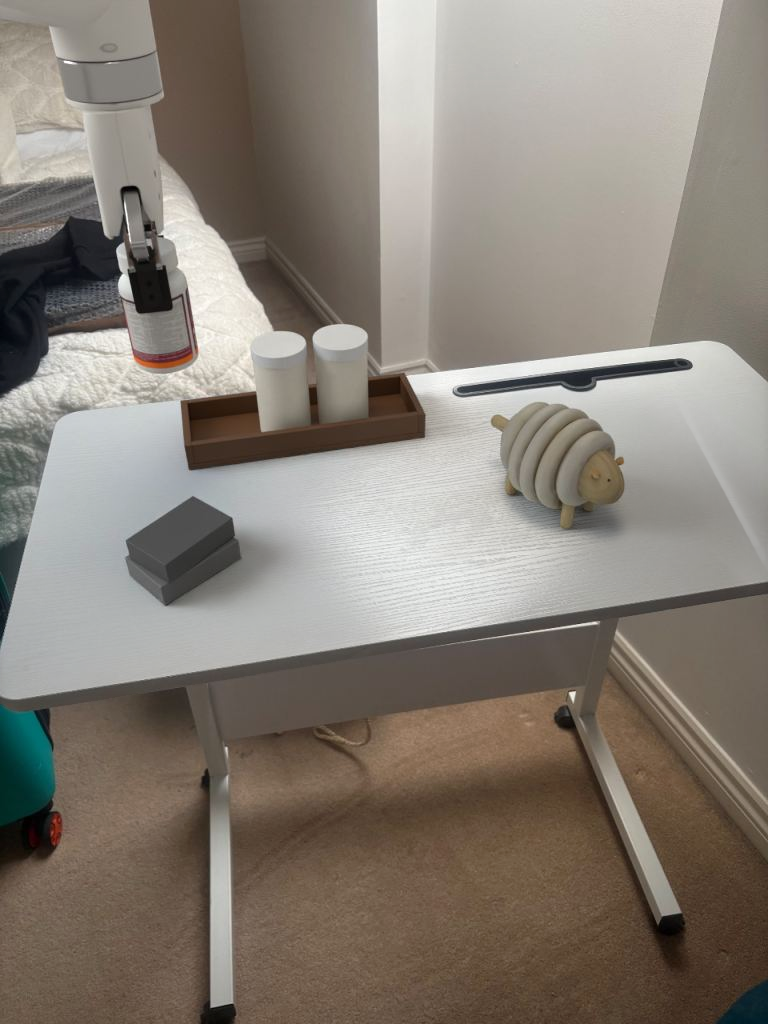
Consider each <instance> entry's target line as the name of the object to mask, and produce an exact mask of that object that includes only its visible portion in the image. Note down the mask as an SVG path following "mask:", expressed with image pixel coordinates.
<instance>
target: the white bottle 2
mask: <svg viewBox="0 0 768 1024" xmlns="http://www.w3.org/2000/svg"><path fill="white" fill-rule="evenodd" d="M312 348H313V354H314V367H315V384H317V399H318V415H319V423H320V424H326V423H334V422H341V421H349V420H356V419H364V418H369V412H368V377H369V372H368V371H369V366H368V365H369V364H368V351H369V334H368V333H367V331H366V330H365V329H363V328H362V327H360V326H357V325H353V324H349V323H348V324H346V323H337V324H329V325H326V326H322V327H320V328H319V329H317V330H316V331H315V332H314V333H313V335H312Z"/></svg>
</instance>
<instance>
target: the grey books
mask: <svg viewBox="0 0 768 1024" xmlns="http://www.w3.org/2000/svg"><path fill="white" fill-rule="evenodd" d="M235 531H236V530H235V525H234V519H233V517H232V516H230V515H228V514H227V513H225V512H224V511H221V510H219V509H217V508H216V507H214V506H212V505H211V504H209V503H207V502H206V501H204V500H202V499H200V498H197V497H196V496H194V495H192V496H191V497H189V498H187V499H186V500H184V501H183V502H181V503H180V504H178V505H176V506H175V507H173V508H172V509H171V510H169V511H168V512H166V513H165V514H163V515H161V516H160V517H159V518H157V519H155V520H154V521H152V522H151V523H149V524H148V525H146V526H145V527H143V528H141V529H140V530H139V531H137V532H136V533H134V534H132V536H130V537H127V539H125V544H126V547H127V550H128V551H127V552H128V555H126V556H125V557H124V560H125V564H126V568H127V570H128V574H129V576H130V577H131V578H132V579H133V580H134V581H136V582H137V583H138V584H139V585H140V586H141V587H143V588H144V589H145V590H146V591H148V592H149V593H150V594H151V595H152V596H153V597H154V598H156V599H157V600H158V601H159V602H160V603H162V604H163V605H164V606H167V605H169V604H170V603H172V602H174V601H175V600H177V599H178V598H180V597H182V596H183V595H185V594H186V593H188V592H190V591H191V590H192V589H194V588H196V587H197V586H199V585H201V584H202V583H204V582H205V581H207V580H209V579H210V578H212V577H213V576H215V575H217V574H218V573H220V572H221V571H223V570H224V569H226V568H228V567H229V566H231V565H232V564H234V563H236V562H237V561H239V560H240V559H241V557H242V555H241V549H240V543H239V539H237V538H236V532H235Z"/></svg>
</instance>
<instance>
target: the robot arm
mask: <svg viewBox="0 0 768 1024" xmlns="http://www.w3.org/2000/svg"><path fill="white" fill-rule="evenodd" d="M1 21H3V22H12V23H16V22H17V23H23V24H31V25H39V26H47V27H48V28H49V32H50V38H51V41H52V46H53V51H54V54H55V60H56V64H57V67H58V71H59V76H60V81H61V85H62V89H63V93H64V96H65V102H66V105H68V106H69V107H71V108H73V109H76V110H81V115H82V122H83V130H84V134H85V136H84V137H85V143H86V149H87V152H88V158H89V163H90V168H91V173H92V178H93V182H94V189H95V192H96V193H95V194H96V198H97V203H98V208H99V213H100V217H101V223H102V224H101V225H102V228H103V235H104V236H105V237H106V238H107V239H109V240H114V239H115V238H114V237H119V236H120V235H121V234H122V239H123V243H124V244H125V250H126V255H127V261H128V266H129V269H127V271H128V276H129V281H130V285H131V290H132V295H133V299H134V304H135V309H136V312H137V313H139V314H145V313H154V312H164V311H171V310H172V309H173V303H172V297H171V292H170V287H169V281H168V276H167V270H166V265H162V260H161V254H160V248H159V242H158V237H162V238H165V236H164V234H161V233H162V232H163V231H164V228H165V227H164V225H165V223H164V195H163V194H164V192H163V182H162V181H163V180H162V174H161V165H160V157H159V151H158V144H157V138H156V132H155V125H154V120H153V112H152V107H151V105H153V104H156V103H159V102H160V101H161V100H163V99H164V97H165V92H164V86H163V81H162V80H163V79H162V74H161V68H160V62H159V56H158V50H157V43H156V38H155V37H156V36H155V30H154V24H153V19H152V13H151V8H150V0H0V22H1ZM121 232H122V233H121ZM120 233H121V234H120ZM146 239H151V241H152V247H153V249H152V247H151V246H148V245H147V240H146Z"/></svg>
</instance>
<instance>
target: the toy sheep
mask: <svg viewBox="0 0 768 1024" xmlns="http://www.w3.org/2000/svg"><path fill="white" fill-rule="evenodd" d="M599 423H600V422H598V421H597V420H595V419H593V418H590V417H589V416H588V414H587V413H586V412H585V411H583V410H581V409H579V408H570V407H568V406H567V405H565V404H562V403H551V404H549V403H547V402H544V401H535V402H532V403H529V404H527V405H525V406H524V407H522V408H521V409H519V411H518V412H517V413H515V414H514V415H513V416H511V418H510V419H509V418H507V417H505V416H503V415H502V414H495V415H493V416H492V417H491V418H490V425H491V426H492V428H495V429H496V430H498V431H500V432H502V433H501V437H500V442H499V443H500V447H499V458H500V463H501V464H502V466H503V468H504V469H505V470H506V477H505V484H504V493H506V494H507V495H509V496H510V495H511V496H512V495H515V494H516V493H517V491H518V492H520V493H522V495H523V496H524V498H525V499H526V500H528V501H529V502H531V503H534V504H541V505H543V506H544V507H546V508H548V509H553V510H554V509H555V510H556V509H557V510H558V509H561V510H560V511H561V512H560V516H559V517H560V518H559V526H560V527H561V528H562V529H564V530H566V529H570V528H572V526H573V521H574V515H575V510H576V507H578V506H582V509H583V510H584V511H586V512H593V510H594V509H595V507H596V505H597V504H598V505H603V506H604V505H606V506H607V505H612V504H615V503H617V502H618V501H619V500H620V499H621V498H622V496H623V495H624V491H625V479H624V475H623V472H622V470H621V467H620V466H622V465H624V463H625V459H624V457H623V456H618V457H617V458H616V445H615V441H614V439H613V438H612V436H611V435H610V434H609V433H608V432H606V431H604V429H603V427H602V426H601V424H599Z"/></svg>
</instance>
